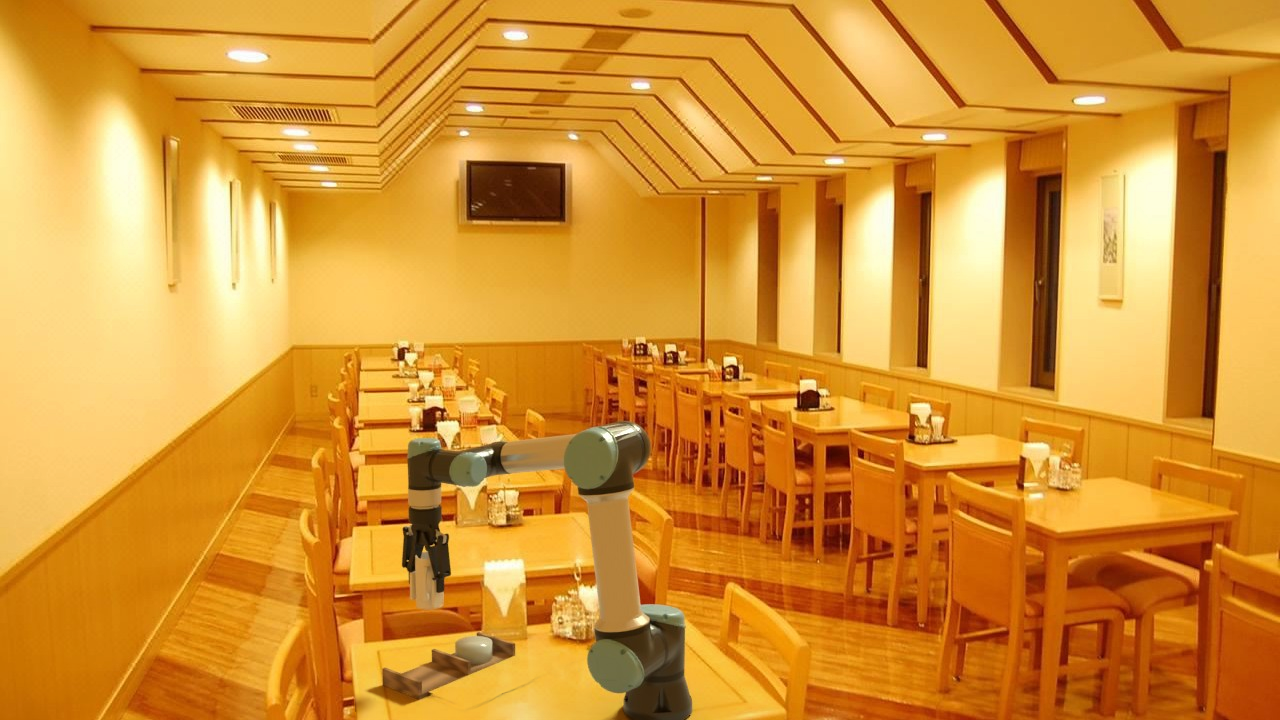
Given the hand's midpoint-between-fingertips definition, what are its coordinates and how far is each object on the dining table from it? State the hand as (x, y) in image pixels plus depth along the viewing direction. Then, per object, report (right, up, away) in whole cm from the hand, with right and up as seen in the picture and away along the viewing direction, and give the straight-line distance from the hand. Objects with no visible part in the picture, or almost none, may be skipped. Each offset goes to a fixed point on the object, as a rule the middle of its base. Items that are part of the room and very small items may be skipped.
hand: (426, 601), depth 236 cm
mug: (0, -1, 0) cm, 2 cm away
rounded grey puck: (+9, -17, +13) cm, 23 cm away
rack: (+4, -19, +7) cm, 20 cm away
